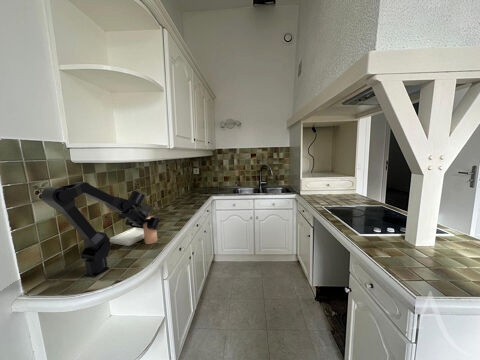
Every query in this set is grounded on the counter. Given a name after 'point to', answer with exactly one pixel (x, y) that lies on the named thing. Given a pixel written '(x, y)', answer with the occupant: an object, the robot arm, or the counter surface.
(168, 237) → the counter surface
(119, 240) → the tray
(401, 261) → the counter surface
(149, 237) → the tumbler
